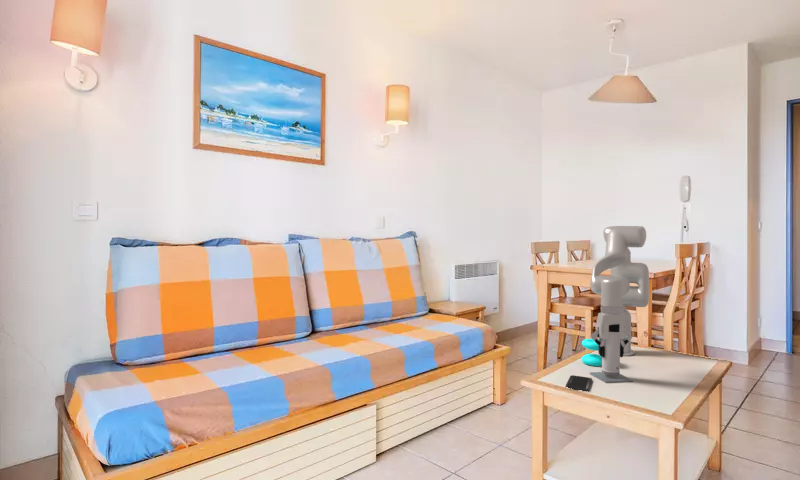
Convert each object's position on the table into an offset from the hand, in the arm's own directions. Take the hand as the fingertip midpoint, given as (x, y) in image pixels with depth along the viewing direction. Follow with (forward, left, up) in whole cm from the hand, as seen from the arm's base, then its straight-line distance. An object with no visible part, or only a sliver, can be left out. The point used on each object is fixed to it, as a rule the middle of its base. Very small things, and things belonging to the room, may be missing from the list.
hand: (611, 355), depth 177 cm
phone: (+8, -15, -9) cm, 19 cm away
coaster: (0, 0, -8) cm, 8 cm away
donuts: (-19, +1, -9) cm, 21 cm away
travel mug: (0, 0, -7) cm, 7 cm away
